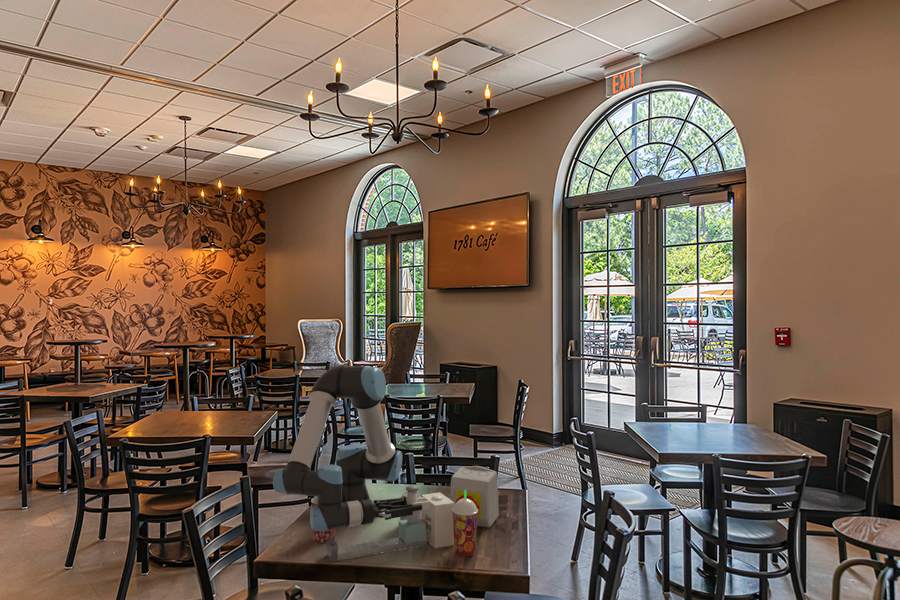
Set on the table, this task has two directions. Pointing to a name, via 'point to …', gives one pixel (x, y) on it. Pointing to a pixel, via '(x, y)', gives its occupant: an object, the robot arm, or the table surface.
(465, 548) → the smoothie
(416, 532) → the carriage
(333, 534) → the mug
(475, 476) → the electrical switch box
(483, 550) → the table surface
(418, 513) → the can
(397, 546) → the rail
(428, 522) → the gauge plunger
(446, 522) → the white notched housing
